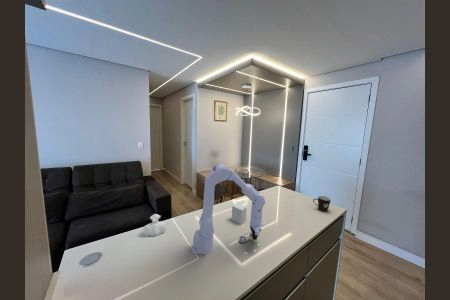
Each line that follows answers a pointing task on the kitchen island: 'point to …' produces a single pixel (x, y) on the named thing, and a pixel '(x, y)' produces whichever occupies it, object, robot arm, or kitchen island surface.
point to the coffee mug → (323, 203)
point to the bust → (155, 226)
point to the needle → (243, 239)
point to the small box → (239, 213)
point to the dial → (253, 250)
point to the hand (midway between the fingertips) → (254, 239)
